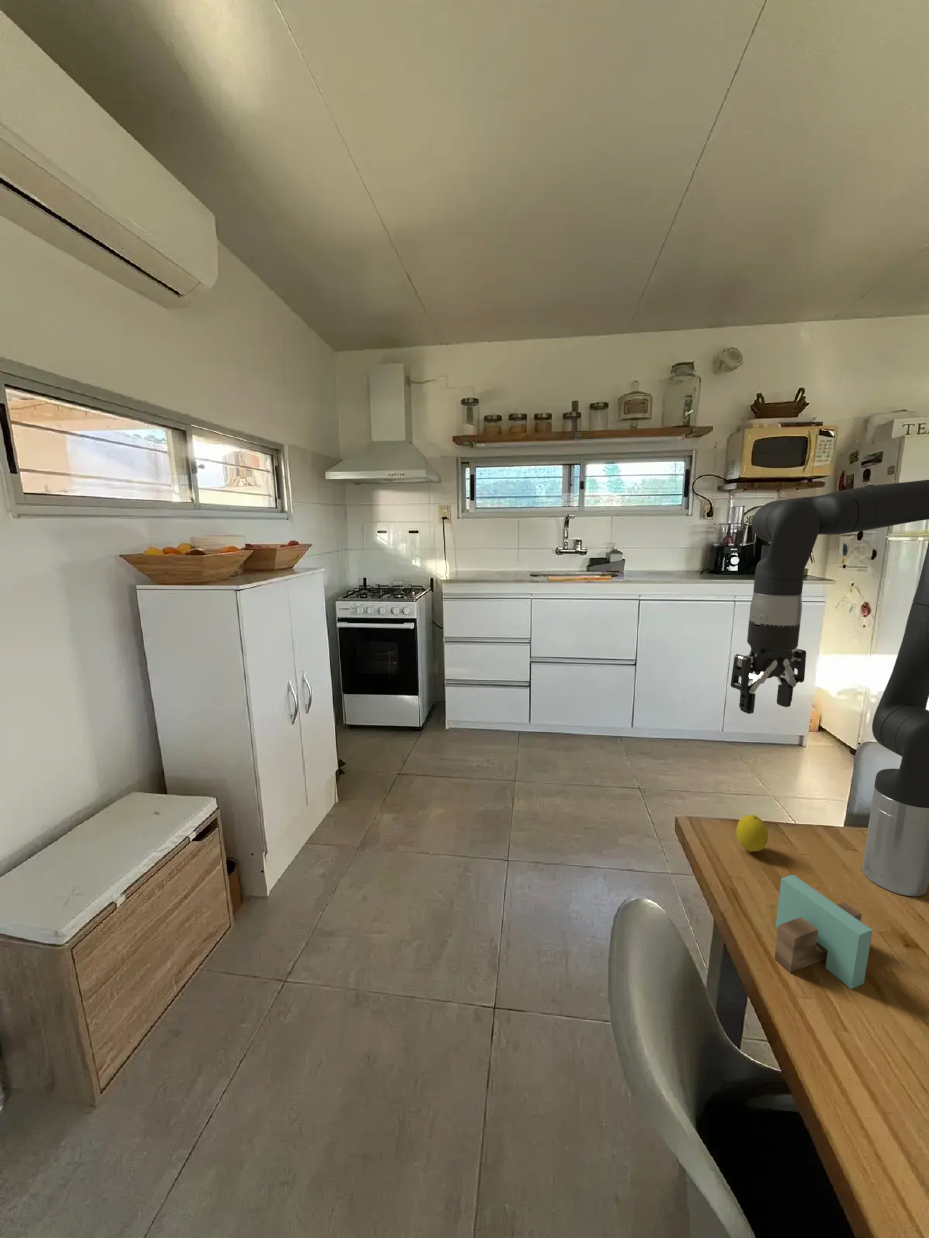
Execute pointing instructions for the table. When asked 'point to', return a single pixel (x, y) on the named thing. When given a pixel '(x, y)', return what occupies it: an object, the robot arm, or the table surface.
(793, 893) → the teal arch block
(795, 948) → the brown wooden u-shaped block
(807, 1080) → the table surface
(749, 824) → the lemon
